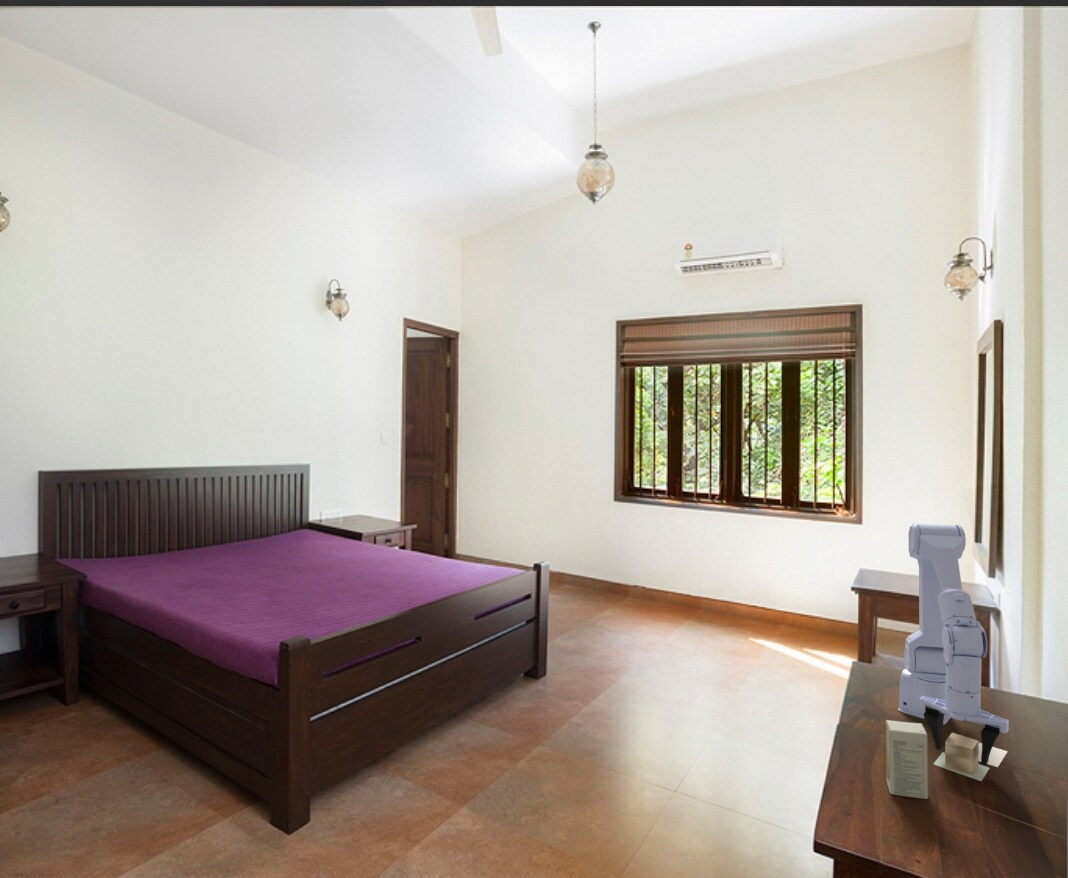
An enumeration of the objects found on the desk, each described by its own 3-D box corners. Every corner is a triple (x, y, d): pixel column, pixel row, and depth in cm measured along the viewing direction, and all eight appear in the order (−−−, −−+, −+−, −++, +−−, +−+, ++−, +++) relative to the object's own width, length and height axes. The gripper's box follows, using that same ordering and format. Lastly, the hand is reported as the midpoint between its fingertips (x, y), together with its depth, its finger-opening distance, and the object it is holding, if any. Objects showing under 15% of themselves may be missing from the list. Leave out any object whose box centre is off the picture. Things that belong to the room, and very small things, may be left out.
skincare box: (922, 786, 122) (924, 723, 122) (928, 800, 118) (929, 734, 118) (884, 781, 125) (885, 718, 124) (888, 794, 120) (889, 729, 120)
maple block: (944, 765, 129) (945, 741, 128) (951, 756, 132) (952, 732, 131) (971, 775, 125) (972, 749, 125) (978, 765, 128) (978, 740, 128)
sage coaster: (933, 765, 129) (933, 764, 129) (942, 753, 133) (942, 752, 133) (981, 782, 123) (981, 780, 123) (989, 769, 128) (989, 767, 128)
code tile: (950, 752, 134) (950, 751, 134) (961, 737, 139) (961, 736, 139) (997, 768, 128) (997, 767, 128) (1007, 752, 133) (1007, 751, 133)
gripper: (914, 682, 130) (913, 748, 131) (1003, 706, 119) (1001, 778, 120) (926, 671, 135) (924, 735, 136) (1012, 693, 124) (1010, 763, 125)
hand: (961, 754), depth 128 cm, fingers open, 7 cm apart
